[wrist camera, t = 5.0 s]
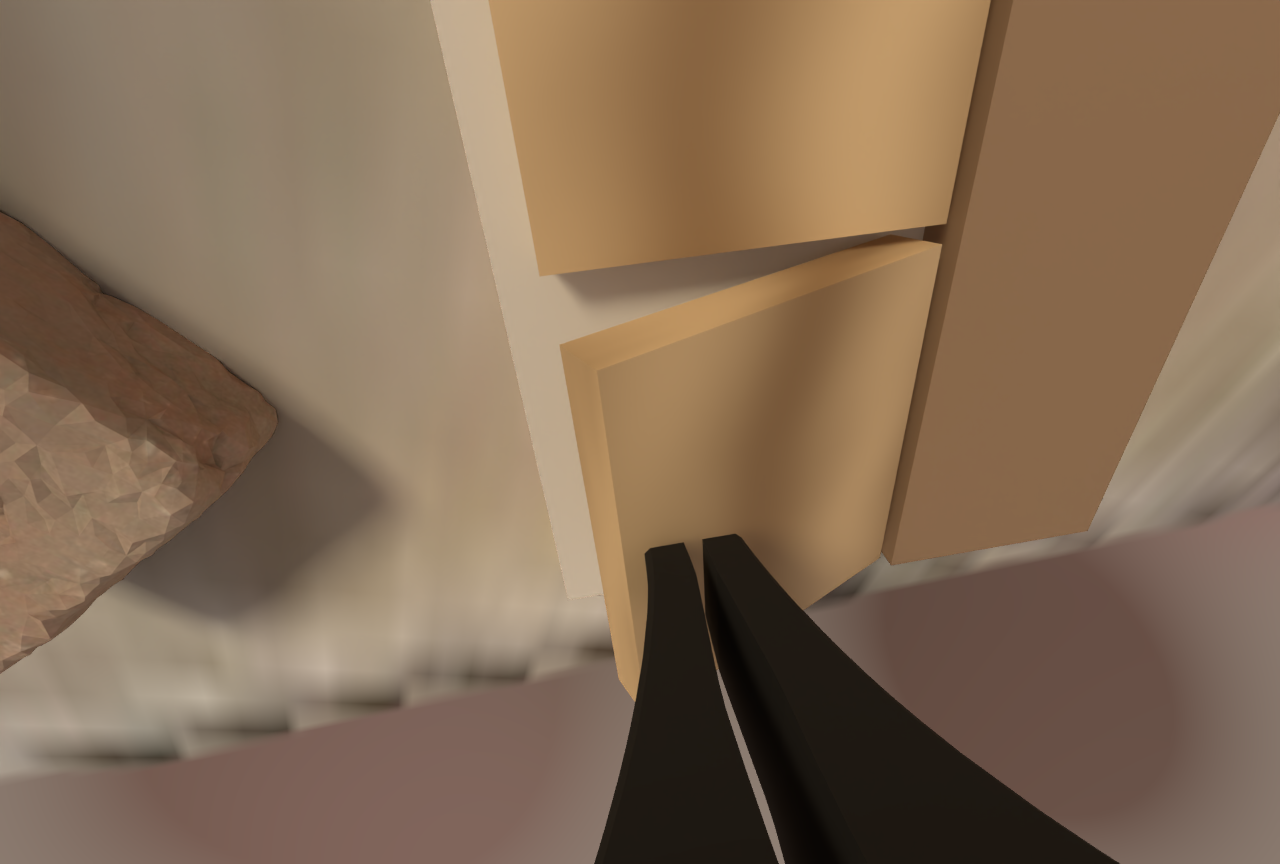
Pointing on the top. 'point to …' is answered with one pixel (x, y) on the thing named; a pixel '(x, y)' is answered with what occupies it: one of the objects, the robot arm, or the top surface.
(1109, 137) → the floor board
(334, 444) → the top surface
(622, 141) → the plank
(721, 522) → the plank
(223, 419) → the brick
